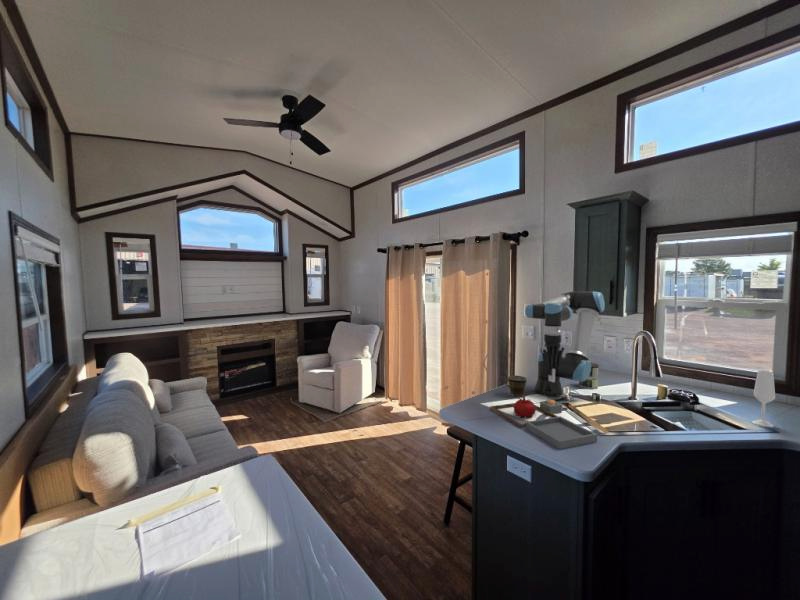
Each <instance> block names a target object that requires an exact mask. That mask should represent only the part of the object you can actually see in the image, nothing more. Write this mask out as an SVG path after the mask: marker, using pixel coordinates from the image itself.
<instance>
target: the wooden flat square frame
mask: <svg viewBox="0 0 800 600" xmlns="http://www.w3.org/2000/svg"><path fill="white" fill-rule="evenodd" d="M515 403H516V402H514V403H512V402H511V403H507V404H506V403H505V404H499V405H498V404H497V405H491V406H489V410H490V411H492V412H493V413H495V414H496V415H499V416H500V417H502V418H503V419H505V420H507V421H508V422H510V423H511V424H513V425H514V426H516V427H518V428H519V429H526V422H523V423H521V422H519V421H517V420H516V419H514V418H512V417H510V416H509V415H507V414H506V413H504V412H502V411H501V409H508V408H514V404H515ZM534 405H535V408H536V411H539V412H540V413H543V414H544V415H546V416H548V417H549V418H553V417H559V416H558V415H556V414H552V413H550V412H548V411H546V410H544V409H542V408H540V406H538V405H536V404H534Z"/></svg>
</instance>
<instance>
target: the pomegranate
mask: <svg viewBox="0 0 800 600" xmlns="http://www.w3.org/2000/svg"><path fill="white" fill-rule="evenodd" d="M517 399H518V400H516V402H514V403H515V404H514V407H513V411H514V412H513V413H514V414H515V415H516V416H518V417H520V418H523V419H524V418H531V417H533V416H534V415H535V414H536V411H537V410H536V408H535V405H536V404H534V402H533V401H532V400H531V399H529V398H528V399H526V397H525V396H524V395H523V396H522V398H521V397H517Z"/></svg>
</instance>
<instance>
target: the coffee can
mask: <svg viewBox="0 0 800 600" xmlns="http://www.w3.org/2000/svg"><path fill="white" fill-rule="evenodd" d="M590 363H591V372H590V375H589V377H588V378H587V379H586V380H585V381H578V386H579V387H581V388H583V389H588V390H597V389H599V386H598V385H599V370H600V369H599V367H600V365H599V364H597V363H593V362H590Z"/></svg>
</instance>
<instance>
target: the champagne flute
mask: <svg viewBox="0 0 800 600" xmlns="http://www.w3.org/2000/svg"><path fill="white" fill-rule="evenodd" d="M756 373H757V374H756V378H755V383H754V389H753V394H752V395H753V396H754V397H755V399H756V400H757V401H758V402H760V403H761V409H760V410H761V411H760V412H761V413H760V415H761V416H760V419H756V420H751V423H753V424H754V425H757V426H761V427H766V428H768V427H769V428H773V427H774V425H773V424H771V422H768V421H766V407H767V406H766V404H769V403H771V402H772V401H774V400H775V399H776V391H775V390H776V389H775V377H774V375H775V374H774V372H772V371H769V370H761V369H760V370H757V372H756Z"/></svg>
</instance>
